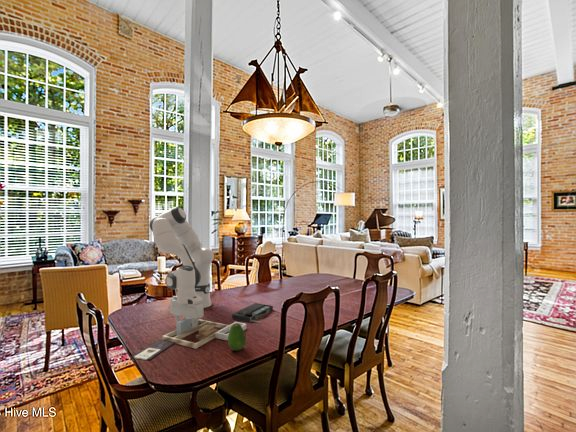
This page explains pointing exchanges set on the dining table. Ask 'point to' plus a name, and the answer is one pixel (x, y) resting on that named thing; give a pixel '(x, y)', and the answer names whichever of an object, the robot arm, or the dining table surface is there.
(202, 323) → the frame
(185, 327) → the pale grey rectangular block
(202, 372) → the dining table surface
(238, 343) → the avocado
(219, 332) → the cradle
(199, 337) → the offcut low
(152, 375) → the dining table surface
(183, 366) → the dining table surface
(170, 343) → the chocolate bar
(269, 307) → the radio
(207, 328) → the offcut top
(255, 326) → the dining table surface
